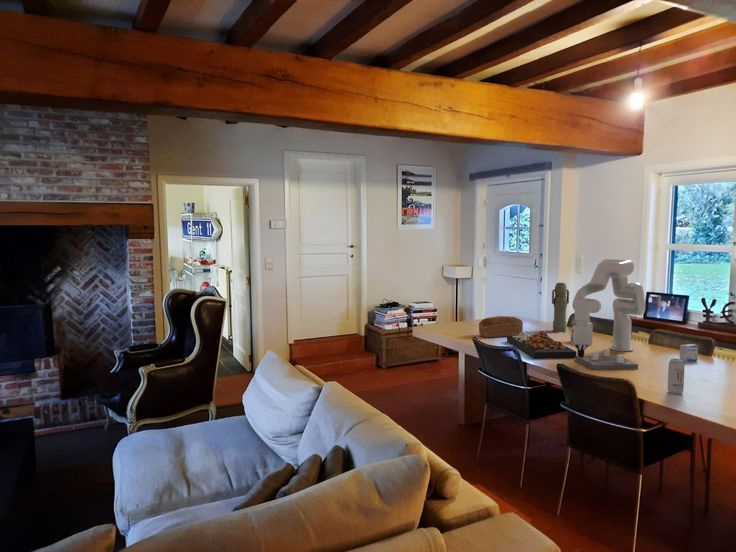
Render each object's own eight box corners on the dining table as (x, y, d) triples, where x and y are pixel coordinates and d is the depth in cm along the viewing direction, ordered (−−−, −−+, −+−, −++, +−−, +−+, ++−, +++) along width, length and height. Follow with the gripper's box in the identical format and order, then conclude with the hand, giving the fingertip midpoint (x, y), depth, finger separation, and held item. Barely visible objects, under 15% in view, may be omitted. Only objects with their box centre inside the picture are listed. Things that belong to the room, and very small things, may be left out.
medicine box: (686, 361, 277) (686, 346, 276) (679, 359, 281) (679, 344, 280) (697, 360, 279) (698, 345, 278) (690, 358, 283) (691, 343, 282)
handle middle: (591, 359, 272) (591, 352, 272) (596, 359, 272) (597, 351, 272) (592, 360, 271) (593, 352, 270) (598, 359, 271) (598, 352, 271)
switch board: (575, 360, 282) (575, 355, 281) (617, 359, 283) (617, 354, 282) (592, 369, 262) (593, 364, 261) (638, 369, 263) (638, 364, 262)
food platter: (506, 342, 329) (507, 327, 329) (543, 341, 331) (543, 326, 330) (534, 360, 285) (534, 342, 284) (576, 359, 286) (576, 341, 285)
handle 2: (616, 362, 266) (616, 354, 265) (622, 362, 266) (622, 354, 266) (618, 363, 264) (618, 355, 264) (623, 363, 264) (624, 355, 264)
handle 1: (603, 355, 280) (603, 348, 279) (608, 355, 280) (608, 348, 280) (604, 356, 278) (604, 349, 278) (609, 356, 278) (610, 349, 278)
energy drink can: (674, 395, 220) (676, 361, 219) (664, 391, 226) (665, 358, 225) (686, 394, 221) (688, 361, 220) (675, 390, 227) (677, 357, 226)
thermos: (570, 332, 359) (572, 283, 356) (555, 333, 357) (556, 283, 354) (563, 330, 368) (565, 282, 365) (548, 330, 366) (550, 282, 363)
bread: (525, 336, 347) (525, 317, 345) (484, 338, 339) (484, 319, 338) (516, 333, 358) (516, 314, 357) (476, 335, 351) (476, 316, 350)
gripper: (571, 324, 266) (570, 358, 267) (599, 324, 266) (597, 358, 268) (565, 322, 273) (564, 355, 275) (592, 321, 274) (591, 355, 275)
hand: (580, 356), depth 271 cm, fingers closed
